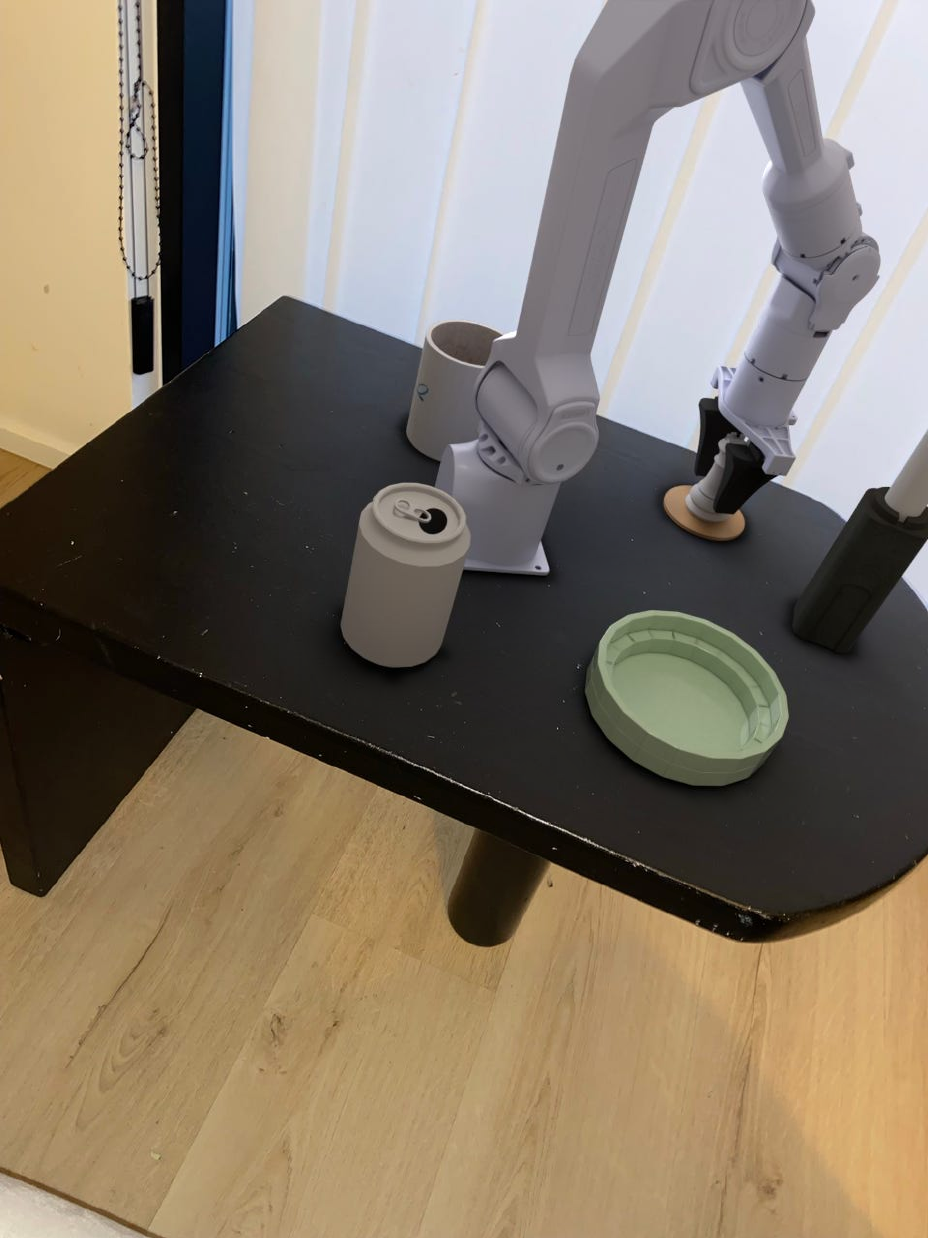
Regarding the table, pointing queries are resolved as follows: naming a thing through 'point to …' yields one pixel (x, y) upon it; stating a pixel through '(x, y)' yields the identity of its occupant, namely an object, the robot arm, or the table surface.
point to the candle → (867, 558)
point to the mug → (448, 385)
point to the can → (404, 574)
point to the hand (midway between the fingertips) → (713, 492)
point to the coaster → (690, 523)
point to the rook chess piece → (711, 485)
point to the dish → (685, 698)
